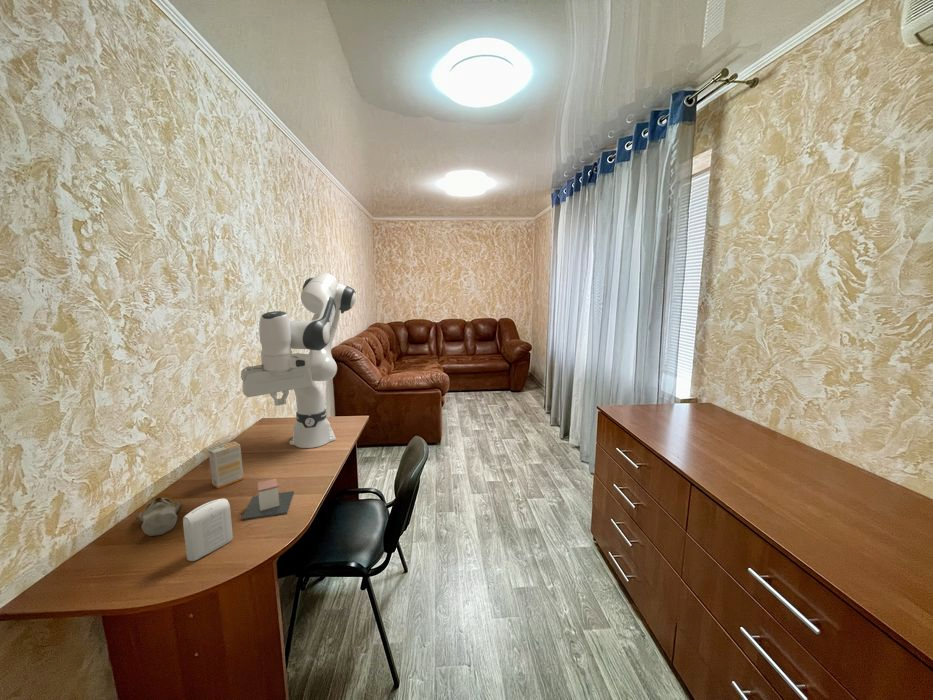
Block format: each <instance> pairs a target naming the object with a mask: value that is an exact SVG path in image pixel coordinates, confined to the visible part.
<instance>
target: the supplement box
mask: <svg viewBox="0 0 933 700" xmlns="http://www.w3.org/2000/svg"><path fill="white" fill-rule="evenodd" d="M208 457H209V467H210V473H211V474H210V475H211V484H212V485H213V486H214V487H215V488H217V489H221V488H224V487H226V486H229V485H231V484H234V483H237V482H239V481H241V480H244V470H243V460H242V451H241V444H240V443H238V442H236V441H231V442H227V443H224V444H221V445H218V446H214V447H211V448H208Z"/></svg>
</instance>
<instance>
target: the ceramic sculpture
mask: <svg viewBox="0 0 933 700" xmlns="http://www.w3.org/2000/svg"><path fill="white" fill-rule="evenodd" d="M183 507H184V503H182V501H181V500H178V501H177V502H175V503H174V502H173V500H172V499H171V498H168V497H157V498H155V499H154V500H152V501H150V502H149V503H147V504H146V506H145V507H144V508H145V509H144V511H138V514H137V515H136V516H135V518H134V519H135V520H136V521H137V522H138V523H142V524H141V530H142V531H143V534H145V535H147V536H151V537H154V536H160V535H161V536H162V535H164V534H166V533H168V532H169V531H171V530H173V528H174V527H175V526H176V524H177V521H178V513H179V512H181V510H183Z"/></svg>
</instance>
